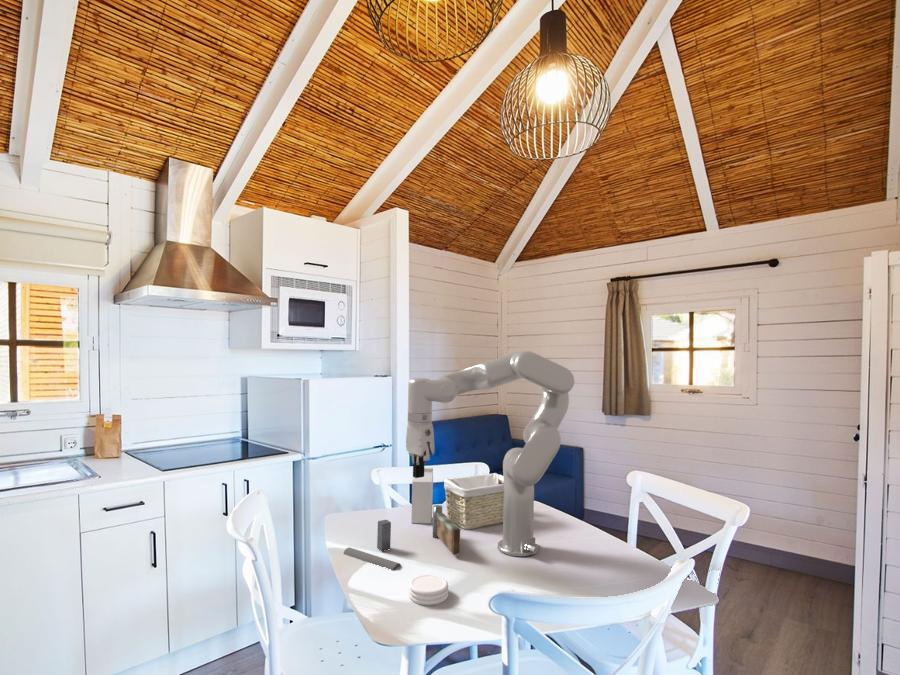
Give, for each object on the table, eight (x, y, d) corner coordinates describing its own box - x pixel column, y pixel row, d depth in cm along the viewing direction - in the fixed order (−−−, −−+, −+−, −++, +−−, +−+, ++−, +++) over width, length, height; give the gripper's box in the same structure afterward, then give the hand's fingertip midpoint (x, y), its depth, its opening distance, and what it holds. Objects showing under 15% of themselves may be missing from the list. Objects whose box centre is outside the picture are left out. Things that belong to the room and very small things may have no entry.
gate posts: (443, 537, 167) (444, 507, 167) (381, 551, 153) (382, 519, 154) (438, 534, 169) (439, 504, 169) (377, 548, 156) (378, 516, 156)
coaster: (449, 606, 122) (449, 591, 122) (408, 606, 122) (408, 592, 122) (446, 587, 132) (446, 573, 132) (408, 587, 132) (409, 573, 132)
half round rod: (352, 551, 155) (352, 545, 155) (401, 567, 144) (402, 561, 144) (342, 556, 151) (342, 550, 151) (392, 572, 141) (392, 566, 141)
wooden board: (436, 535, 165) (436, 513, 165) (442, 534, 165) (442, 512, 166) (453, 554, 150) (454, 530, 150) (459, 553, 150) (460, 529, 151)
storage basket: (462, 532, 172) (463, 489, 172) (441, 517, 186) (442, 478, 186) (519, 522, 183) (520, 482, 183) (495, 509, 197) (495, 471, 198)
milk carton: (431, 524, 179) (432, 470, 179) (411, 523, 179) (412, 470, 179) (432, 517, 186) (433, 466, 186) (413, 516, 186) (414, 465, 186)
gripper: (443, 420, 152) (441, 480, 152) (417, 414, 164) (416, 470, 164) (422, 421, 148) (421, 484, 147) (397, 415, 160) (396, 473, 159)
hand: (418, 476), depth 156 cm, fingers closed
